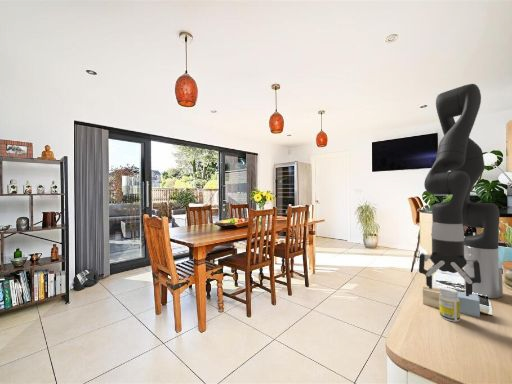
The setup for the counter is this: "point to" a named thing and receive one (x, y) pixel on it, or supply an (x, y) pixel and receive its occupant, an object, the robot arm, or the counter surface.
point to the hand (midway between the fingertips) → (448, 291)
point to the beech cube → (431, 296)
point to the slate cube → (469, 304)
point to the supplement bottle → (449, 304)
